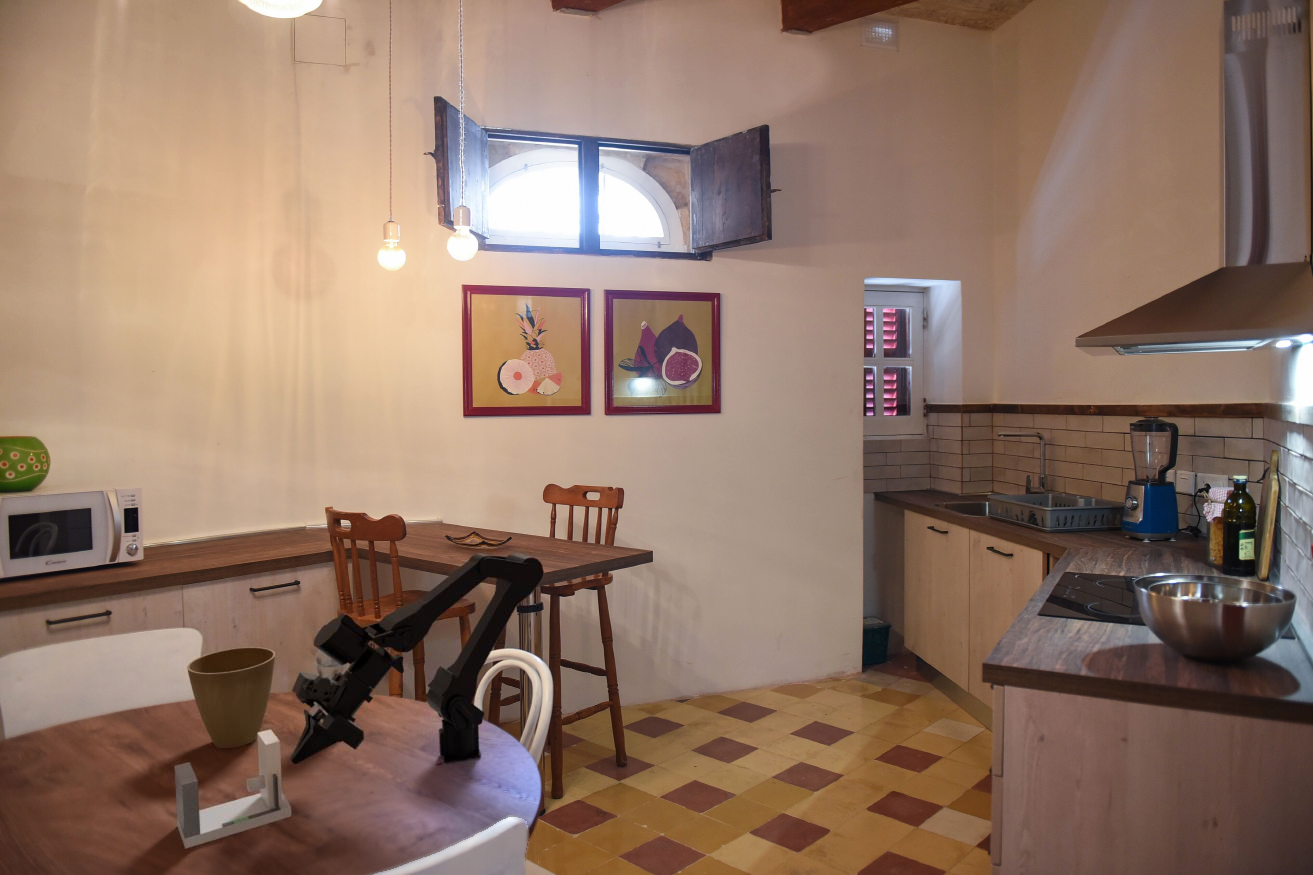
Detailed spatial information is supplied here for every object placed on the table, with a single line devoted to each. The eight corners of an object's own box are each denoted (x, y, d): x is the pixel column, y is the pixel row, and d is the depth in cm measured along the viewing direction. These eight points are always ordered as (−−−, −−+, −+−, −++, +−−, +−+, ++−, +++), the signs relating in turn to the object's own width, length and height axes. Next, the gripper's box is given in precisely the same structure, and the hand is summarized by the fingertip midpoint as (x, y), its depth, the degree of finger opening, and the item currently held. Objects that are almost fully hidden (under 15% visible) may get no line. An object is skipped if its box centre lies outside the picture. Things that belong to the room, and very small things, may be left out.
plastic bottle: (342, 738, 157) (338, 635, 156) (310, 736, 158) (306, 634, 157) (360, 725, 163) (357, 626, 162) (330, 722, 164) (326, 625, 163)
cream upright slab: (273, 789, 132) (270, 729, 132) (284, 807, 127) (281, 743, 126) (245, 797, 130) (242, 736, 129) (254, 815, 124) (252, 751, 124)
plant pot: (182, 740, 157) (178, 658, 156) (264, 719, 167) (261, 642, 166) (202, 765, 146) (198, 677, 145) (289, 740, 156) (285, 658, 155)
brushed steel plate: (192, 812, 126) (189, 761, 126) (200, 833, 120) (197, 780, 120) (177, 816, 125) (174, 765, 125) (184, 838, 119) (182, 784, 118)
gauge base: (279, 796, 134) (278, 787, 134) (291, 816, 128) (290, 806, 127) (177, 826, 125) (177, 815, 125) (185, 848, 119) (184, 837, 119)
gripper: (308, 640, 141) (240, 718, 135) (340, 667, 126) (266, 757, 120) (356, 675, 146) (293, 752, 140) (392, 705, 131) (323, 793, 125)
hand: (292, 762), depth 131 cm, fingers closed
